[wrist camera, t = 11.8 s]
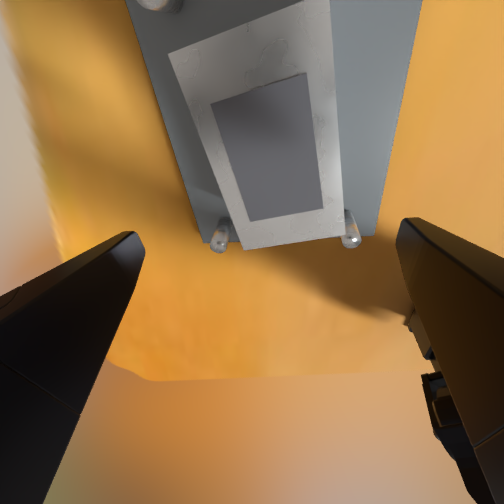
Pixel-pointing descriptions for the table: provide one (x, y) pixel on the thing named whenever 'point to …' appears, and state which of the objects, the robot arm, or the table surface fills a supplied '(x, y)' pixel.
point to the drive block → (270, 123)
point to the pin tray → (346, 83)
